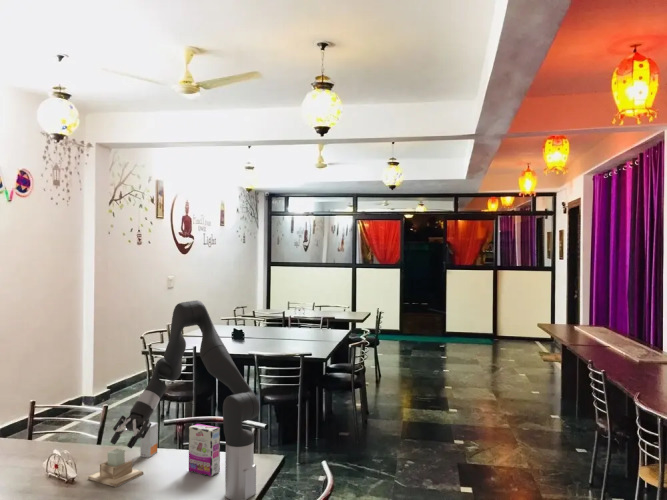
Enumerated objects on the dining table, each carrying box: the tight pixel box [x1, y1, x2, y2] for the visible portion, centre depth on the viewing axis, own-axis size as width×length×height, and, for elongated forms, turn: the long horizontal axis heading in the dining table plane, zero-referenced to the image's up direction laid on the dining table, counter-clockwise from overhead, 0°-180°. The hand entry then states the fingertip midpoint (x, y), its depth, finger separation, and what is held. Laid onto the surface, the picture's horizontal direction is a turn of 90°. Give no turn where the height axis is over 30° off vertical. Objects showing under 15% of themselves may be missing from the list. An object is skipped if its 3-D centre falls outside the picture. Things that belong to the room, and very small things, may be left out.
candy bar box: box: [188, 423, 221, 477], centre depth 192 cm, size 11×5×16 cm, turn 62°
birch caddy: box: [87, 460, 144, 488], centre depth 187 cm, size 14×12×5 cm
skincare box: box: [139, 421, 159, 458], centre depth 209 cm, size 6×4×12 cm
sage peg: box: [107, 448, 126, 467], centre depth 188 cm, size 4×4×8 cm
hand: (120, 445), depth 189 cm, fingers open, 8 cm apart
